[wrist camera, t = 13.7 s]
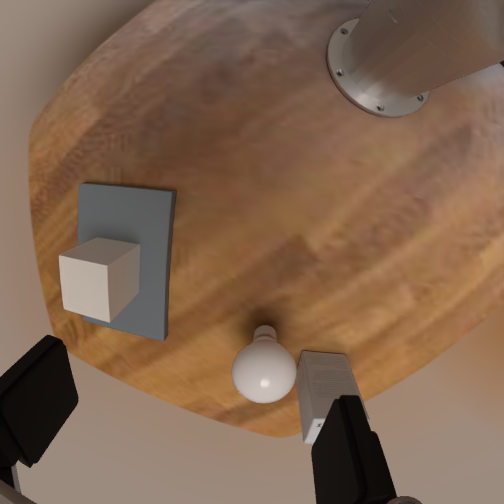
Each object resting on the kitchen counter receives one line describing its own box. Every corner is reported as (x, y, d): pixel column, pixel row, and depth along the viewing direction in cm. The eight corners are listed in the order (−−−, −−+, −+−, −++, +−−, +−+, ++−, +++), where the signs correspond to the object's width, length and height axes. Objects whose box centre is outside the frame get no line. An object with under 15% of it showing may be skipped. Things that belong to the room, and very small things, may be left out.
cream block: (97, 237, 31) (58, 255, 24) (140, 244, 31) (107, 265, 24) (98, 282, 33) (63, 308, 26) (139, 292, 33) (110, 322, 25)
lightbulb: (229, 339, 35) (216, 400, 25) (255, 299, 34) (249, 354, 23) (274, 360, 36) (274, 423, 25) (301, 323, 34) (313, 383, 24)
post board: (85, 182, 31) (44, 188, 23) (176, 191, 31) (148, 198, 23) (88, 315, 36) (57, 344, 28) (167, 335, 36) (146, 372, 28)
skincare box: (294, 375, 37) (301, 444, 25) (302, 349, 35) (312, 418, 24) (337, 378, 37) (355, 444, 25) (347, 353, 35) (371, 419, 24)
